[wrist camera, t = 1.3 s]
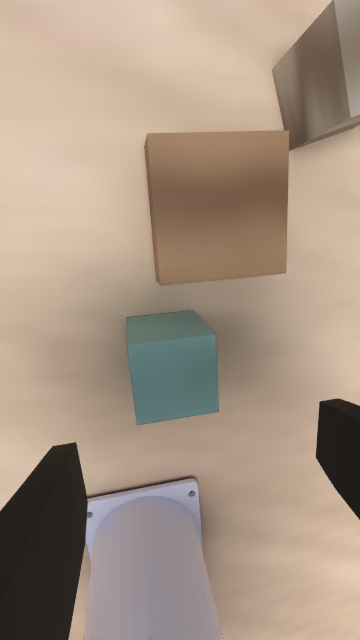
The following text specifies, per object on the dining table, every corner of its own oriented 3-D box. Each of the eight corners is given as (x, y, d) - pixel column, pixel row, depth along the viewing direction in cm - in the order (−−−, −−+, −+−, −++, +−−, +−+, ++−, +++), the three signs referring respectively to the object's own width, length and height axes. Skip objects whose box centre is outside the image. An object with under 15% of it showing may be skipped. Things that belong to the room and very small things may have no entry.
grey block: (351, 128, 18) (435, 87, 13) (288, 151, 17) (350, 117, 12) (339, 47, 16) (427, -31, 12) (271, 70, 16) (333, -2, 11)
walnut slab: (266, 269, 19) (285, 272, 17) (155, 279, 18) (160, 285, 16) (267, 144, 17) (289, 130, 15) (143, 148, 16) (147, 133, 14)
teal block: (196, 370, 20) (219, 411, 15) (133, 378, 19) (137, 425, 14) (192, 310, 19) (215, 334, 14) (126, 317, 18) (126, 345, 13)
